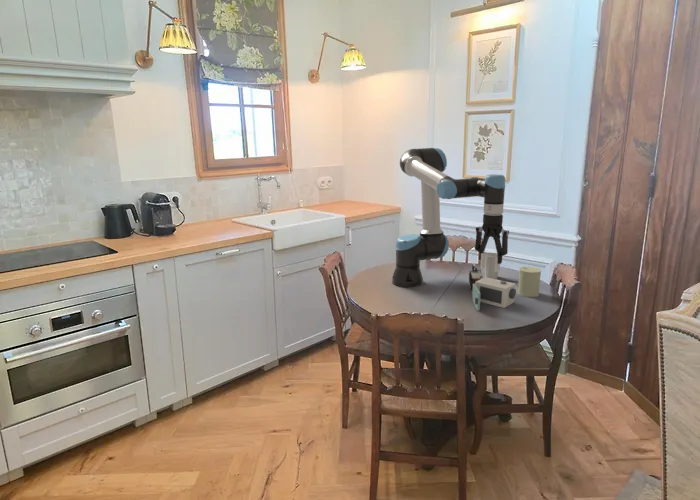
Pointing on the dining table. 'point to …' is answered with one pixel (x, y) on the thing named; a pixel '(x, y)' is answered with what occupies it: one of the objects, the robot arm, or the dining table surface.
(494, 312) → the dining table surface
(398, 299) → the dining table surface
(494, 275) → the cup
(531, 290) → the can
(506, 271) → the dining table surface
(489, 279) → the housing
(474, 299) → the side door
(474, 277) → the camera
